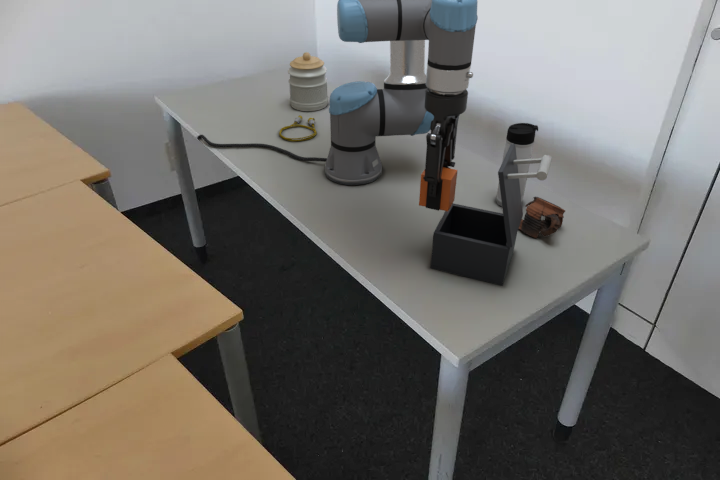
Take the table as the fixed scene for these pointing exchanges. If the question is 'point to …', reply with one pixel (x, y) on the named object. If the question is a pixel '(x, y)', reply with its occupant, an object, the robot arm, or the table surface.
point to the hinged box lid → (516, 188)
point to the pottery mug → (534, 214)
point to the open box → (472, 244)
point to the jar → (308, 83)
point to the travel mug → (520, 150)
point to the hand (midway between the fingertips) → (436, 201)
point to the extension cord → (298, 120)
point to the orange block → (447, 189)
